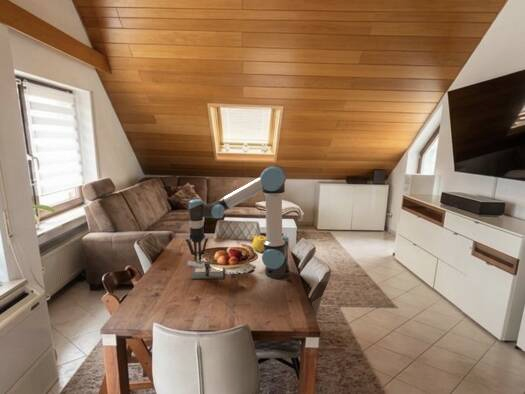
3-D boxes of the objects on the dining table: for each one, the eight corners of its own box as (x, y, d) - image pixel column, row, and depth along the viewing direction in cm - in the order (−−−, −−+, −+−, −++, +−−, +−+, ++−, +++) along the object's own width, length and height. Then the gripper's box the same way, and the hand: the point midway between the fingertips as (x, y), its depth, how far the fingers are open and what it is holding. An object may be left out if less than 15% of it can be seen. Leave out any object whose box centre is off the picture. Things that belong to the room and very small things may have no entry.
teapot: (275, 252, 216) (276, 237, 214) (263, 256, 209) (264, 241, 207) (259, 245, 229) (259, 231, 227) (247, 248, 222) (247, 234, 220)
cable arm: (189, 263, 179) (189, 260, 178) (210, 266, 175) (210, 263, 175) (186, 265, 176) (186, 262, 175) (208, 268, 172) (208, 265, 172)
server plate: (224, 268, 188) (224, 259, 187) (223, 278, 174) (222, 269, 173) (194, 268, 186) (194, 260, 185) (190, 278, 173) (190, 269, 172)
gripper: (208, 224, 178) (210, 262, 182) (186, 225, 177) (188, 263, 182) (207, 228, 170) (208, 268, 175) (184, 229, 169) (186, 268, 174)
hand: (198, 265), depth 178 cm, fingers closed
